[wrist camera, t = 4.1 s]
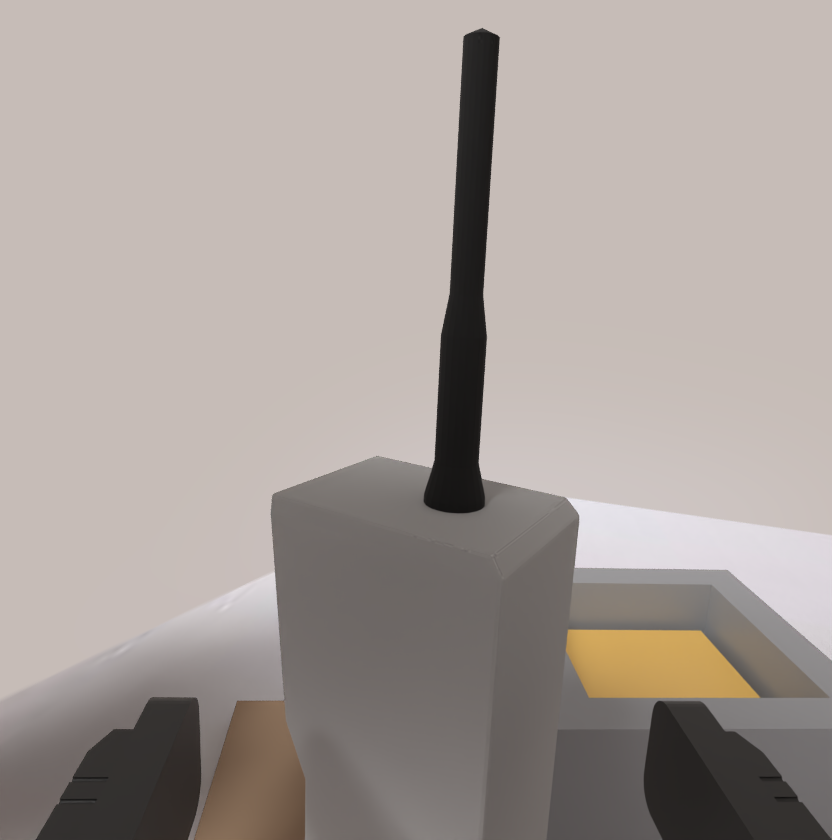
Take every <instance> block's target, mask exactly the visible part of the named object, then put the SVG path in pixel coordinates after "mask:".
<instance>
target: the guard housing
mask: <svg viewBox="0 0 832 840" xmlns="http://www.w3.org/2000/svg"><path fill="white" fill-rule="evenodd" d="M568 630H690V631H702V633H703V634H704V635H705V636H706V637H707V638H708V639H709V640H710V642H711V643H712V644H713V645H714V646H715V647H716V648H717V649H718V651H719V652H720V653H721V654H722V655H723V656H724V657H725V658H726V660H727V661H728V662H729V663H730V664H731V665H732V666H733V667H734V668H735V670H736V671H737V672H738V673H739V674H740V675H741V676H742V677H743V679H744V680H745V681H746V682H747V683H748V684H749V685H750V686H751V688H752V689H753V690H754V691H755V692H756V693H757V694H758V695H759V697H760V698H589V697H588V695H587V693H586V691H585V689H584V687H583V685H582V683H581V681H580V678H579V676H578V674H577V672H576V670H575V668H574V666H573V664H572V662H571V660H570V658H569V656H568V654H567V652H566V653H565V663H564V673H563V683H562V692H561V702H560V712H559V721H558V731H557V741H556V751H555V760H554V770H553V780H552V790H551V799H550V809H549V819H548V829H547V838H546V840H662V838H661V836H660V834H659V832H658V829H657V827H656V825H655V823H654V821H653V819H652V817H651V815H650V813H649V810H648V807H647V803H646V799H645V793H644V768H645V761H646V754H647V747H648V740H649V732H650V725H651V718H652V712H653V708H654V705H655V703H656V702H657V701H701V702H703V703H704V704H705V705H706V706H707V708H708V709H709V710H710V712H711V713H712V714H713V716H714V717H715V718H716V720H717V721H718V722H719V724H720V725H721V726H722V728H723V729H724V730H725V731H735V732H737V733H738V734H739V735H741V736H742V737H743V738H745V739H746V740H747V741H749V742H750V743H751V744H753V745H754V746H755V747H757V748H758V749H759V750H761V751H762V752H763V753H764V754H765V755H766V757H767V758H768V759H769V761H770V762H771V763H772V764H773V766H774V767H775V768H776V769H777V771H778V772H779V773H780V774H781V776H782V780H783V781H786V782H787V783H788V785H789V786H790V787H791V788H792V790H793V791H794V792H795V794H796V795H797V796H798V800H799V802H803V804H804V805H805V806H806V808H807V809H808V810H809V811H810V813H811V814H812V815H813V816H814V818H815V819H816V820H817V822H818V823H819V824H820V825H821V827H822V828H823V829H824V830H825V832H826V833H827V834H828V836H829V837H830V838H831V839H832V661H831V660H830V659H829V658H828V657H827V656H826V655H824V654H823V653H822V652H821V651H820V650H819V649H818V648H816V647H815V646H814V645H813V644H812V643H811V642H809V641H808V640H807V639H806V638H805V637H804V636H803V635H801V634H800V633H799V632H798V631H797V630H796V629H795V628H793V627H792V626H791V625H790V624H789V623H788V622H786V621H785V620H784V619H783V618H782V617H781V616H780V615H778V614H777V613H776V612H775V611H774V610H773V609H772V608H770V607H769V606H768V605H767V604H766V603H765V602H763V601H762V600H761V599H760V598H759V597H758V596H757V595H755V594H754V593H753V592H752V591H751V590H750V589H748V588H747V587H746V586H745V585H744V584H743V583H742V582H740V581H739V580H738V579H737V578H736V577H735V576H734V575H732V574H731V573H730V572H729V571H728V570H686V569H613V568H574V576H573V585H572V595H571V605H570V614H569V624H568Z"/></svg>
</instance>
